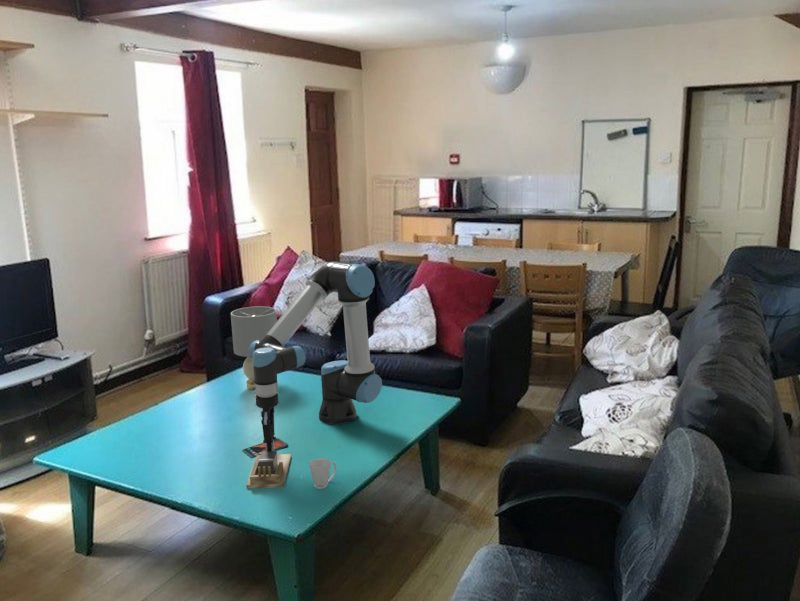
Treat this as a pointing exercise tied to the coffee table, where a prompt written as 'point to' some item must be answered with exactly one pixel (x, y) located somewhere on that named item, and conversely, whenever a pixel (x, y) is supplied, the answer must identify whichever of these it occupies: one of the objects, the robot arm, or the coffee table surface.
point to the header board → (269, 473)
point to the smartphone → (263, 448)
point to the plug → (268, 461)
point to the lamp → (250, 333)
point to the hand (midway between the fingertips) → (270, 458)
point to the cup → (321, 472)
